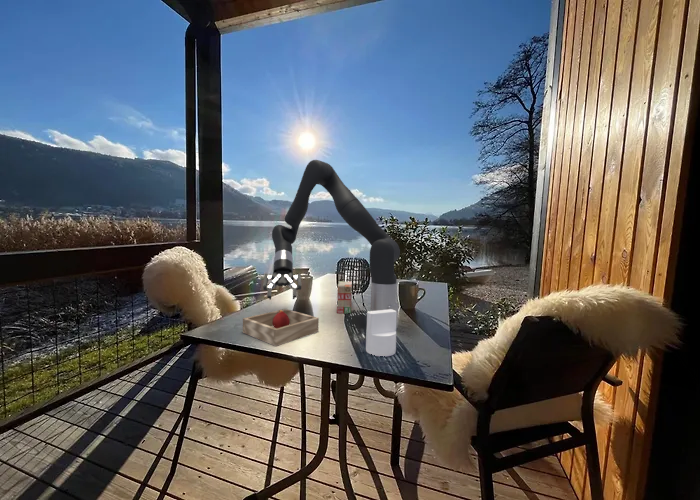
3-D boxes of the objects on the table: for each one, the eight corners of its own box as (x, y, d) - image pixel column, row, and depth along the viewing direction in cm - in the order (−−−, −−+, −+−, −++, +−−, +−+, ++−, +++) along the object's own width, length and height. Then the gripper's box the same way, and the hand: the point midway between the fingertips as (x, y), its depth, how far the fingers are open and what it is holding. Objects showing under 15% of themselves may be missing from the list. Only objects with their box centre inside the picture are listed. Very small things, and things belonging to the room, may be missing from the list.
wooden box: (318, 331, 107) (318, 317, 107) (275, 346, 93) (276, 330, 93) (285, 321, 119) (285, 308, 118) (242, 332, 104) (242, 318, 104)
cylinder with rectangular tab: (374, 358, 86) (375, 316, 85) (360, 347, 94) (361, 309, 93) (401, 354, 89) (402, 314, 89) (386, 343, 98) (387, 306, 97)
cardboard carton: (339, 302, 153) (339, 278, 153) (351, 302, 153) (352, 278, 153) (336, 313, 132) (337, 285, 131) (351, 313, 132) (351, 286, 131)
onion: (283, 328, 110) (284, 306, 109) (292, 332, 106) (293, 310, 105) (269, 331, 106) (269, 309, 105) (278, 336, 102) (278, 312, 101)
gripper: (264, 257, 118) (261, 292, 107) (301, 258, 121) (301, 292, 110) (265, 269, 123) (262, 304, 113) (300, 269, 126) (301, 303, 116)
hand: (282, 298), depth 112 cm, fingers open, 8 cm apart
